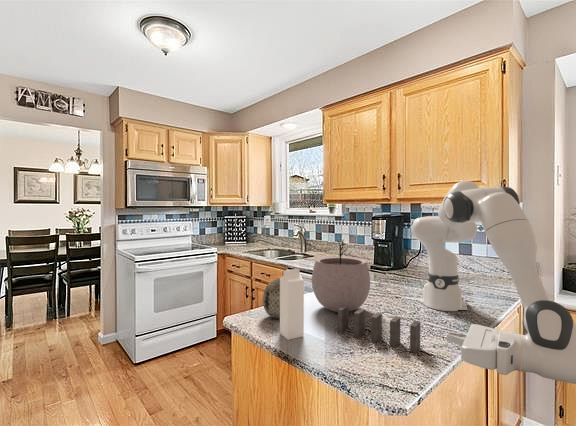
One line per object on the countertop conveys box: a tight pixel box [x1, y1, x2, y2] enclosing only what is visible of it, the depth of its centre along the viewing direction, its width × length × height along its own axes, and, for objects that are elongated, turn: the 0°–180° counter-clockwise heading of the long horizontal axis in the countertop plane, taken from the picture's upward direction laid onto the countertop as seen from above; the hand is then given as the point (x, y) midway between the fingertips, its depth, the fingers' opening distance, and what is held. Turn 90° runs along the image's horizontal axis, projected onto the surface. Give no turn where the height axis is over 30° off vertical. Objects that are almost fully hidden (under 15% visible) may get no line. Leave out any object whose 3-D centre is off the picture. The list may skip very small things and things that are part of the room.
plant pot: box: [311, 237, 371, 313], centre depth 130 cm, size 24×24×30 cm
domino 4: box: [389, 315, 401, 349], centre depth 98 cm, size 5×2×8 cm, turn 143°
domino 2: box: [353, 308, 366, 339], centre depth 105 cm, size 5×2×8 cm, turn 143°
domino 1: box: [337, 306, 350, 334], centre depth 109 cm, size 5×2×8 cm, turn 143°
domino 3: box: [370, 312, 383, 344], centre depth 102 cm, size 5×2×8 cm, turn 143°
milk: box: [279, 268, 305, 341], centre depth 105 cm, size 6×6×22 cm
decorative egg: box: [262, 278, 280, 319], centre depth 121 cm, size 12×12×15 cm
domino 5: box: [409, 320, 421, 354], centre depth 94 cm, size 5×2×8 cm, turn 143°
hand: (447, 336), depth 89 cm, fingers closed
